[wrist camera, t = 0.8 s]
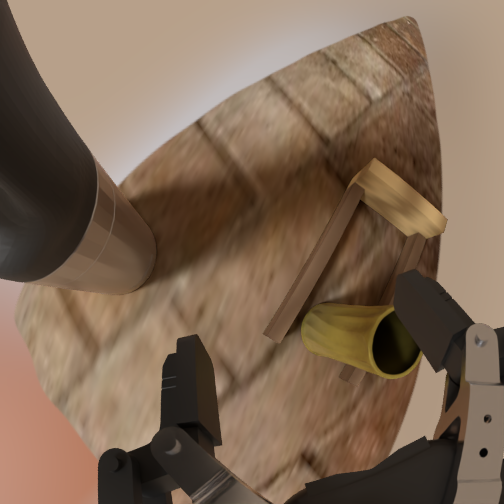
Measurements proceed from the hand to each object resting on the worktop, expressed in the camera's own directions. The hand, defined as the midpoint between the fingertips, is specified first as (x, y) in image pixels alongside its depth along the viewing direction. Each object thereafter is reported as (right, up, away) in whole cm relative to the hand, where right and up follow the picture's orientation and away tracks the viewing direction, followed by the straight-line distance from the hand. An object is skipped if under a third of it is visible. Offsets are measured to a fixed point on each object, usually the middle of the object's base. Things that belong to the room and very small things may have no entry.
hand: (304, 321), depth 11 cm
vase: (+6, -6, +21) cm, 23 cm away
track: (+10, 0, +22) cm, 24 cm away
